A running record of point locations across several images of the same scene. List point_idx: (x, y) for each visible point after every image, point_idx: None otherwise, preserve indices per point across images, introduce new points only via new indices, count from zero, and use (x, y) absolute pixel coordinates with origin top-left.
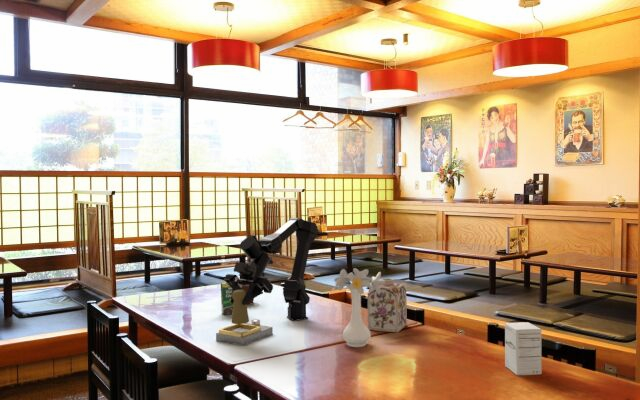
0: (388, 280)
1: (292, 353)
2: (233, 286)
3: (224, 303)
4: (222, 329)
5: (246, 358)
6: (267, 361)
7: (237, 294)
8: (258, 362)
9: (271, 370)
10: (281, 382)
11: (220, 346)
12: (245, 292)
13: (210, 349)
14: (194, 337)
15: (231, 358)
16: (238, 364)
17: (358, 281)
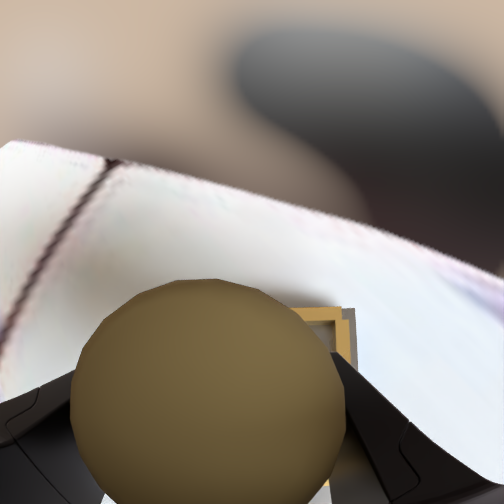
0: None
1: (7, 314)
2: (472, 499)
3: None
4: (335, 330)
5: (98, 213)
6: (43, 226)
7: (150, 290)
8: (60, 208)
9: (28, 189)
10: (11, 163)
11: (261, 262)
12: (72, 417)
13: (269, 216)
14: (456, 298)
15: (139, 190)
16: (101, 171)
17: None
